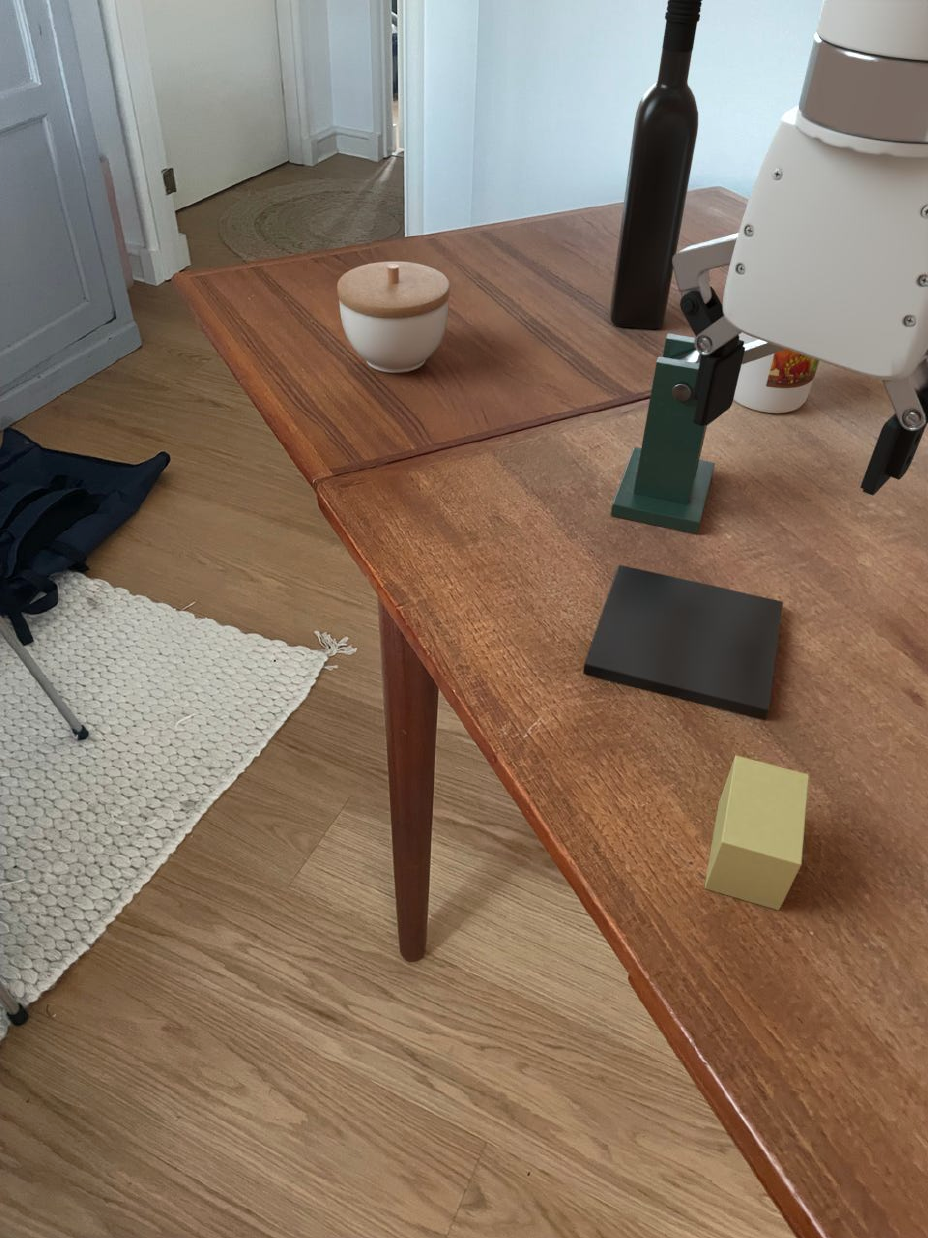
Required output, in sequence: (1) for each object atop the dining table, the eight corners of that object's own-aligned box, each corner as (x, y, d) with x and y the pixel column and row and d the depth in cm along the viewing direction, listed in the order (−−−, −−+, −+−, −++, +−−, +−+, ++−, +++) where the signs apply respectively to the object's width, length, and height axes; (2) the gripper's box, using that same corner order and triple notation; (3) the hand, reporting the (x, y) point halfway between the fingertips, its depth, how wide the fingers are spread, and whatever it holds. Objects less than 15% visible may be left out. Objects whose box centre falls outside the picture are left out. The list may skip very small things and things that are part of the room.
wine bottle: (660, 308, 104) (716, -14, 83) (663, 331, 100) (722, -2, 79) (609, 304, 104) (652, -17, 84) (610, 327, 100) (655, -5, 80)
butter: (788, 822, 54) (809, 774, 51) (779, 911, 50) (801, 864, 47) (718, 803, 55) (735, 754, 52) (704, 888, 51) (721, 841, 48)
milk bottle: (726, 410, 88) (780, 188, 74) (723, 371, 93) (773, 158, 80) (810, 419, 87) (880, 196, 73) (802, 379, 93) (866, 165, 79)
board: (779, 611, 67) (783, 601, 67) (765, 720, 60) (769, 710, 59) (616, 574, 70) (618, 563, 69) (582, 674, 62) (584, 663, 62)
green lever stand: (712, 474, 80) (746, 333, 71) (697, 534, 74) (732, 389, 65) (632, 458, 82) (655, 318, 73) (610, 516, 75) (633, 371, 67)
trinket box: (349, 389, 89) (342, 294, 83) (336, 337, 97) (329, 247, 91) (458, 379, 91) (460, 285, 85) (438, 330, 99) (438, 240, 92)
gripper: (1148, 116, 37) (977, 480, 48) (751, 44, 45) (687, 370, 56) (1096, 160, 32) (923, 547, 44) (669, 71, 41) (618, 418, 52)
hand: (791, 447), depth 50 cm, fingers open, 9 cm apart
